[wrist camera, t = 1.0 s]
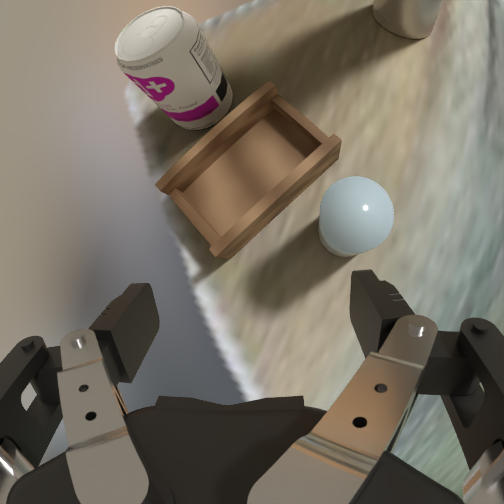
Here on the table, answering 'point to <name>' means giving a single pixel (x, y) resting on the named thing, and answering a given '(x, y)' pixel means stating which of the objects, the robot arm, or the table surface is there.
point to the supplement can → (174, 67)
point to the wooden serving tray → (248, 169)
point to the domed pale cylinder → (354, 216)
